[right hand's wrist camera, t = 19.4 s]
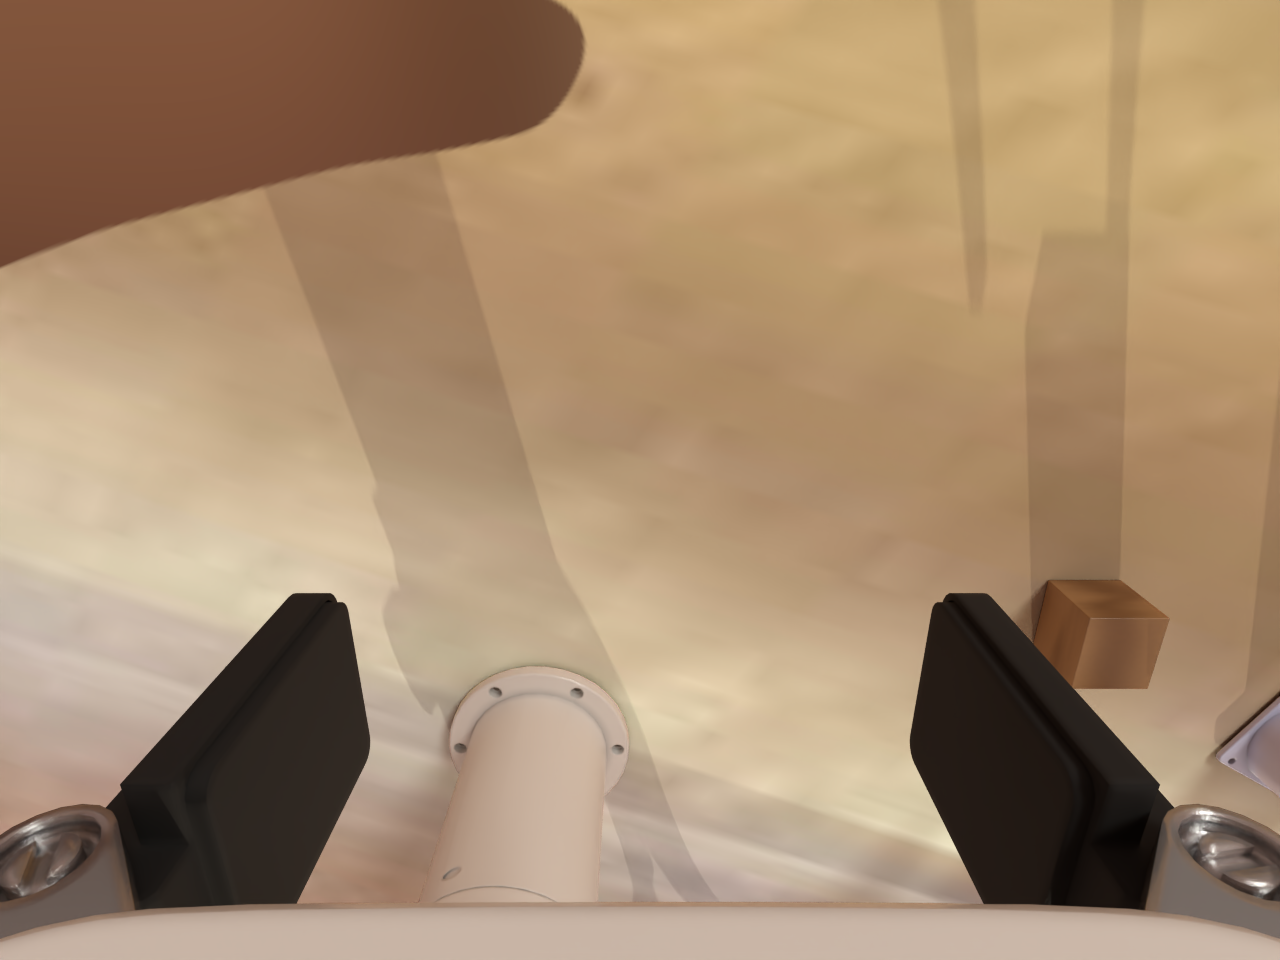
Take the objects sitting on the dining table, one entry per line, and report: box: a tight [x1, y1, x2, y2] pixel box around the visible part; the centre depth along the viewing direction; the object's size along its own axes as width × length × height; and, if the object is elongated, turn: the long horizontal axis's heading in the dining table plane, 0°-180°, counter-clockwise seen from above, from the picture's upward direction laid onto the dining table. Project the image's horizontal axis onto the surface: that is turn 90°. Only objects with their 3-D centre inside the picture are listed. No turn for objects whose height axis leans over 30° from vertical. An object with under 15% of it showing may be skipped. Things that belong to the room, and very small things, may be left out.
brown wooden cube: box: [1033, 580, 1169, 689], centre depth 45 cm, size 5×5×5 cm
